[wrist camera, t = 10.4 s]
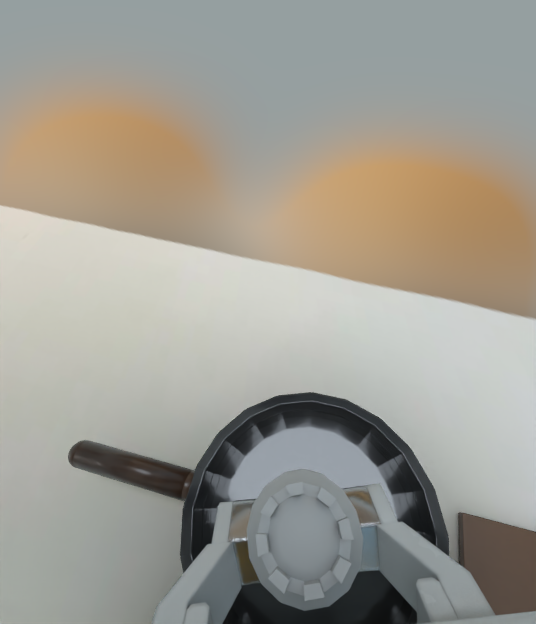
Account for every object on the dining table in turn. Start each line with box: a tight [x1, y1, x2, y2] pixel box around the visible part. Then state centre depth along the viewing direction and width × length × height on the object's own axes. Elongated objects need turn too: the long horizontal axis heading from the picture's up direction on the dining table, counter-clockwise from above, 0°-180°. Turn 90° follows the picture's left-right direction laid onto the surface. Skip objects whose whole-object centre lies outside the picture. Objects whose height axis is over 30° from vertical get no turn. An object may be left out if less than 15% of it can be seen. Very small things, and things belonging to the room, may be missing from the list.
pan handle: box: [68, 440, 195, 501], centre depth 20 cm, size 9×2×2 cm, turn 76°
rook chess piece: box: [247, 469, 363, 611], centre depth 12 cm, size 4×4×8 cm
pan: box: [180, 392, 449, 624], centre depth 18 cm, size 13×13×4 cm
